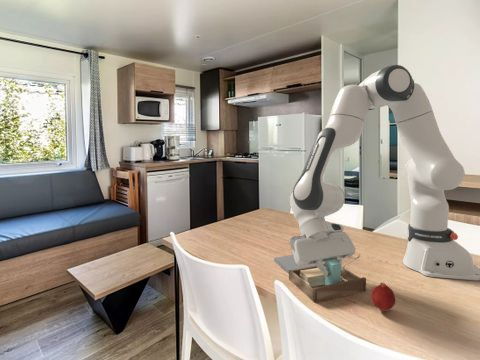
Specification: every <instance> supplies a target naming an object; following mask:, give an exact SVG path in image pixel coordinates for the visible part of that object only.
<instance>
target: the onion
mask: <svg viewBox="0 0 480 360" xmlns="http://www.w3.org/2000/svg"><path fill="white" fill-rule="evenodd" d="M370 299H371V302H372V304H373V305H374V306H375V307H376V308H377V309H378V310H379V311H381V312H386V311H389V310H391V309H393V307H395V305H396V301H397V300H396V299H397V298H396V294H395V293H394V291H393V290H392V289H391V287H390V286H388V285H387V284H386V283H385V282H380V284H378V285H377V286H375V287H374V288H373V289H372V291H371V293H370Z"/></svg>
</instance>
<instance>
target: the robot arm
mask: <svg viewBox="0 0 480 360" xmlns="http://www.w3.org/2000/svg"><path fill="white" fill-rule="evenodd" d="M385 106H387V107H389V109H390V110H391V112H392V115H393V119H394V122H395V125H396V128H397V129H398V133H399V137H400V140H401V142H402V145H403V146H404V148H405V149H406V150H407V152H408V154H409V155H410V158H409V159H408V160H407V162H406V163H405V165H404V171H405V174H406V176H407V183H408V184H407V185H408V190H409V191H408V192H409V197H410V211H409V213H410V215H409V224H408V227H407V237H406V238H407V246H406V249H405V254H404V257H403V258H402V263H403V265H404V266H405V267H408V268H409V269H411V270H413V271H416V272H419V273H420V274H422V275H423V276H426V277H430V278H443V279H455V280H467V281H480V268H479V267H478V266H477V265H476V264H474V260H473V257H472V255H471V253H470V252H469V251H468V250H467V249H466V248H465V247H463V246H462V245H461V244H459V243H458V242H457V241H456V240H457V239H458V238H459V235H458V234H457V233H456V232H455V231H454V230H452V229H451V228H449V227H448V226H449V225H448V224H449V223H448V222H449V211H450V210H449V209H450V206H449V202H448V201H447V199H446V195H445V191H451V190H454V189H457V188H458V187H459V186H460V185H461V184H462V183H463V181H464V180H465V175H466V174H465V173H466V172H465V169H464V166H463V165H462V164H461V163H460V162H459V161H458V160H457V159H456V158H455V155H454V154H453V152H452V150H451V149H450V147H449V146H448V144H447V143H446V141H445V138H444V137H443V135H442V134H441V131H440V128H439V126H438V125H439V124H438V122H437V119H436V116H435V113H434V110H433V107H432V104H431V102H430V99H429V98H428V96H427V94H426V92H425V90H424V88H423V87H422V85H421V84H419V83H416V82H415V80H414V79H413V77H412V74H411V73H410V71H409V70H408V68H406V67H404V66H402V65H400V64H393V65H388V66H384V67H383V68H381V69H380V70H377V71H375V72H373V73H371V74H370V75H369V76H368V77H366V78H364V79H363V80H361V81H360V82H358V83H357V84H349V85H348V84H347V85H345V86H343V87H342V88H340V90H339V91H338V93H337V95H336V97H335V99H334V101H333V104H332V107H331V109H330V113H329V116H328V120H327V123H326V124H325V127H324V128H323V129H322V130H321V131H320V132H319V133H318V134H317V136H316V138H315V140H314V143H313V145H312V148H311V150H310V152H309V155H308V157H307V160H306V163H305V165H304V167H303V170H302V172H301V174H300V176H299V178H298V179H297V180H296V182H295V184H294V186H293V188H292V189H293V190H292V192H291V195H290V196H289V205H290V208H291V211H292V215H293V216H294V219H295V220H296V222H297V223H298V226H299V227H298V228H299V231H300V233H301V235H294V236H292V237H291V238H290V239H289V240H288V243H289V247H290V248H291V250H292V255H294V259H295V262H296V264H297V265H298V266H304V265H309V264H316V266H317V268H319V269H320V270H321V271H322V272H323V274H324V276H329V275H330V274H331V272H330V270H329V268H327V269H326V268H325V267H324V266H323V265H322V264H324V263H325V260H331V259H335V260H336V261H338V262H340V263H341V273H342V272H343V269H342V267H343V266H342V265H343V264H342V263H343V259H346V258H351V257H352V256H353V255H354V254H356V246H355V245H354V243H353V241H352V239H351V238H350V236H349V234H348V233H346V231H345V232H344V229H345V228H344V226H343V224H340V223H335V222H329V221H326V219H325V217H327V216H330V215H333V214H335V213H337V212H338V211H340V210H341V208H343V206H344V204H345V194H344V191H343V189H342V188H341V187H340V186H338V185H336V184H334V183H330V182H325V181H324V180H323V176H324V173H325V171H326V168H327V166H328V163H329V160H330V158H331V156H332V154H333V153H334V152H335V151H336V150H338V149H342V148H346V147H350V146H352V145H354V144H355V143H357V142H358V141H359V139H360V138H361V135H362V133H363V132H364V131H363V130H364V127H365V123H366V118H367V114H368V112H369V111H372V110H375V109H378V108H379V109H380V108H382V107H385Z"/></svg>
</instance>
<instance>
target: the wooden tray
mask: <svg viewBox="0 0 480 360" xmlns="http://www.w3.org/2000/svg"><path fill="white" fill-rule="evenodd" d="M322 265H323V266H324V267H325V263H323V264H322ZM314 268H317V266H311V267H305V268H300V269H294V270H289V274H288V280H289V281H291V283H292V284H294V286H296V287H297V288H298V289H299V290H300V291H301V292H302V293H303V294H304V295H305V296H306V297H308V298H309V299H310V300H311V301H312V302H313V303H320V302H324V301H329V300H332V299H336V298H341V297H346V296H350V295H353V294H358V293H362V292H366V290H367V278H366V277H364V276H363V277H359V276H358V275H356V274H355V273H353V272H351V271H350V270H348V269H347V268H345V267H343V266H342V269H343V272H342V273H341V277H342V278H343V279H344V280H345V281H341V282H339V283H335V284H330V285H321V286H316V287H311V286H309V285H308V284H307V283H306V282H305V281H303V280H302V279H301V278H300V277H299V276H300V271H301V270H307V269H314Z"/></svg>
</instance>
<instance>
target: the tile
mask: <svg viewBox="0 0 480 360" xmlns="http://www.w3.org/2000/svg"><path fill="white" fill-rule="evenodd" d="M273 261H274V262H275V263H276V264H277V265H278V266H279V267H280V268H282V269H283V270H284V271H285V272H286V273H287V274H288V275H289V270H294V269H300V268H305V267H311V266H316V264H309V265H304V266H298V265H297V264H296V262H295V259H294V255H293V254H290V255H283V256H278V257H274V258H273Z"/></svg>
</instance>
